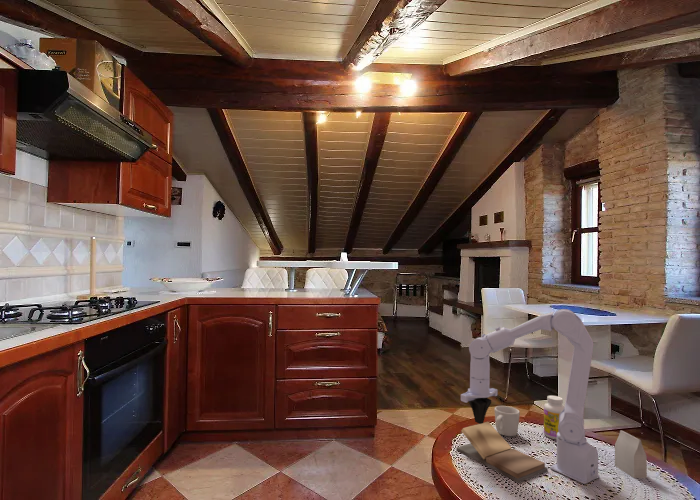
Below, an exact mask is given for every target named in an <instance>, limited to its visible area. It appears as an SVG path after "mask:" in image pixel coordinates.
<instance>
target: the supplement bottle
mask: <svg viewBox="0 0 700 500" xmlns="http://www.w3.org/2000/svg"><path fill="white" fill-rule="evenodd" d="M546 400H547V403H544V406H543V434H544V436H546V437H547V438H549V439H551V440H556V441H557V433H558V432H559V430H558V425H559V415H560V413H561V412H562V411H563V409H564V406H565V405H563V403H564V398H562V397H560V396H558V395H547V398H546Z"/></svg>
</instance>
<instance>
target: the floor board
mask: <svg viewBox="0 0 700 500" xmlns="http://www.w3.org/2000/svg"><path fill="white" fill-rule="evenodd" d="M455 449H456V451H457V452H459V453H461V454H463V455H464V456H466V457H469V458H470V459H472V460H473V461H476V462H478V463H480V464H482V465H484V466H485V467H487V468H489V469H491V470H493V471H495V472H496V473H498V474H500V475H502V476H504V477H506V478H508V479H510V480H511V481H512V482H513V481H514V482H515V483H516V484H519V483H522V482H525V481H527V480H529V479H531V478H534V477H536V476H537V477H538V476H540V475H541V474H543V473H546V472H548V470H549V468H548V467H546V463H545V462H543V461H541V460H539V459H537V458H534V457H533V456H530V455H528V454H525V453H523V452H522V451H520V450H517V449H515V448H511V449H510V450H507V451H504V452H501V453H498V454H495V455H492V456H489V457H486V459H483V458H482V456H481V455H480V454H479V453H478V451H477V450H476V449H475V448H474V446H473V445H472V444H471V443H470V442H469V443H468V444H464V445H461V446H458V447H456V448H455Z"/></svg>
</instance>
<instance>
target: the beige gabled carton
mask: <svg viewBox="0 0 700 500" xmlns="http://www.w3.org/2000/svg"><path fill="white" fill-rule="evenodd" d="M647 459H648V457H647V453H646V451H645V449H644V446H643V443H642V440H641V439H639V438H638V437H635V436H634V435H633V434H632V435H631V434H630V433H628V432H626V431H624V430H619V434H618V437H617V439H616V441H615V444H614V466H615V467H616V468H618V469H619V470H621V471H622V472H623V473H625V474H627V475H628V476H630V477H631V478H633V479H647V478H648V477H647V475H648V473H647V472H648V470H647V468H648V467H647V465H648V464H647V463H648V462H647V461H648V460H647Z"/></svg>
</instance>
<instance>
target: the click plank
mask: <svg viewBox="0 0 700 500" xmlns="http://www.w3.org/2000/svg"><path fill="white" fill-rule="evenodd" d="M461 433H462V434H463V435H464V436H465V438H466V439H467V440H468V441H469V444H470V443H471V444H472V445H473V446H474V448H475V449H476V450H477V451H478V453H479V454H480V455H481V456H482V458H483V459H486V457H489V456H492V455H495V454H498V453H501V452H504V451H507V450H510V449H512V446H511V445H510V444H509V443H508V442H507V441H506V440H505V438H504V437H503V435H501V434H500V433H498V431H497V429H496V427H494V426H493V425H492V424H491V423H490V422H489V421H485V422H483V423H482V424H479V423H477V424H474V425H469V426H465V427H463V428H462V429H461Z"/></svg>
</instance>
